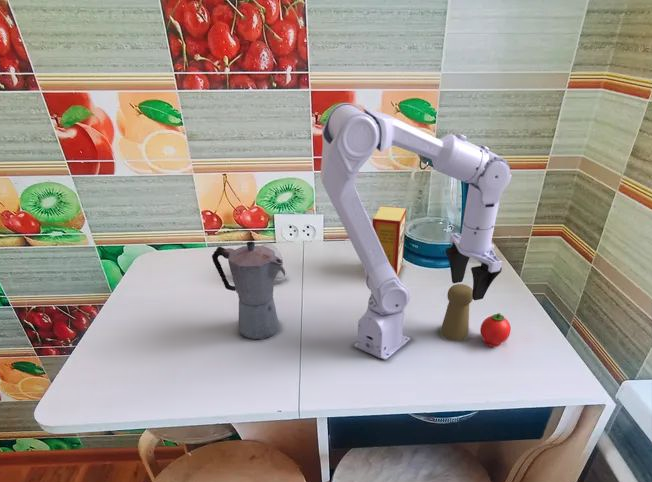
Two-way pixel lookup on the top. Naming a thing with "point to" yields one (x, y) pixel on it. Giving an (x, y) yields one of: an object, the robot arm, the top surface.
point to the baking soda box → (391, 233)
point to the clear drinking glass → (278, 254)
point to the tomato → (495, 330)
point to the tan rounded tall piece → (457, 313)
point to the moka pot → (252, 287)
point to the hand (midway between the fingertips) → (467, 290)
